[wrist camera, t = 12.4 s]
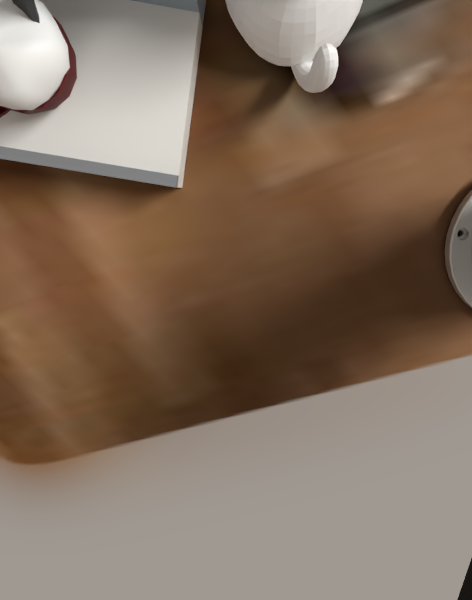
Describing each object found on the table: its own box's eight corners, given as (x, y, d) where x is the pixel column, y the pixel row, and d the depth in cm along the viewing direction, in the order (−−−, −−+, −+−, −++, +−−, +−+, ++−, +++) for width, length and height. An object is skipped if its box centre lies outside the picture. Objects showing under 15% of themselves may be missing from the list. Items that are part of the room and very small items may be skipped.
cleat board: (206, -3, 31) (189, -117, 20) (182, 187, 34) (154, 186, 23) (-57, -51, 31) (-235, -198, 19) (-58, 148, 34) (-212, 126, 22)
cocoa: (16, 143, 31) (-119, 132, 20) (-39, 52, 30) (-219, -18, 18) (134, 75, 30) (64, 20, 18) (84, -24, 28) (-28, -152, 17)
